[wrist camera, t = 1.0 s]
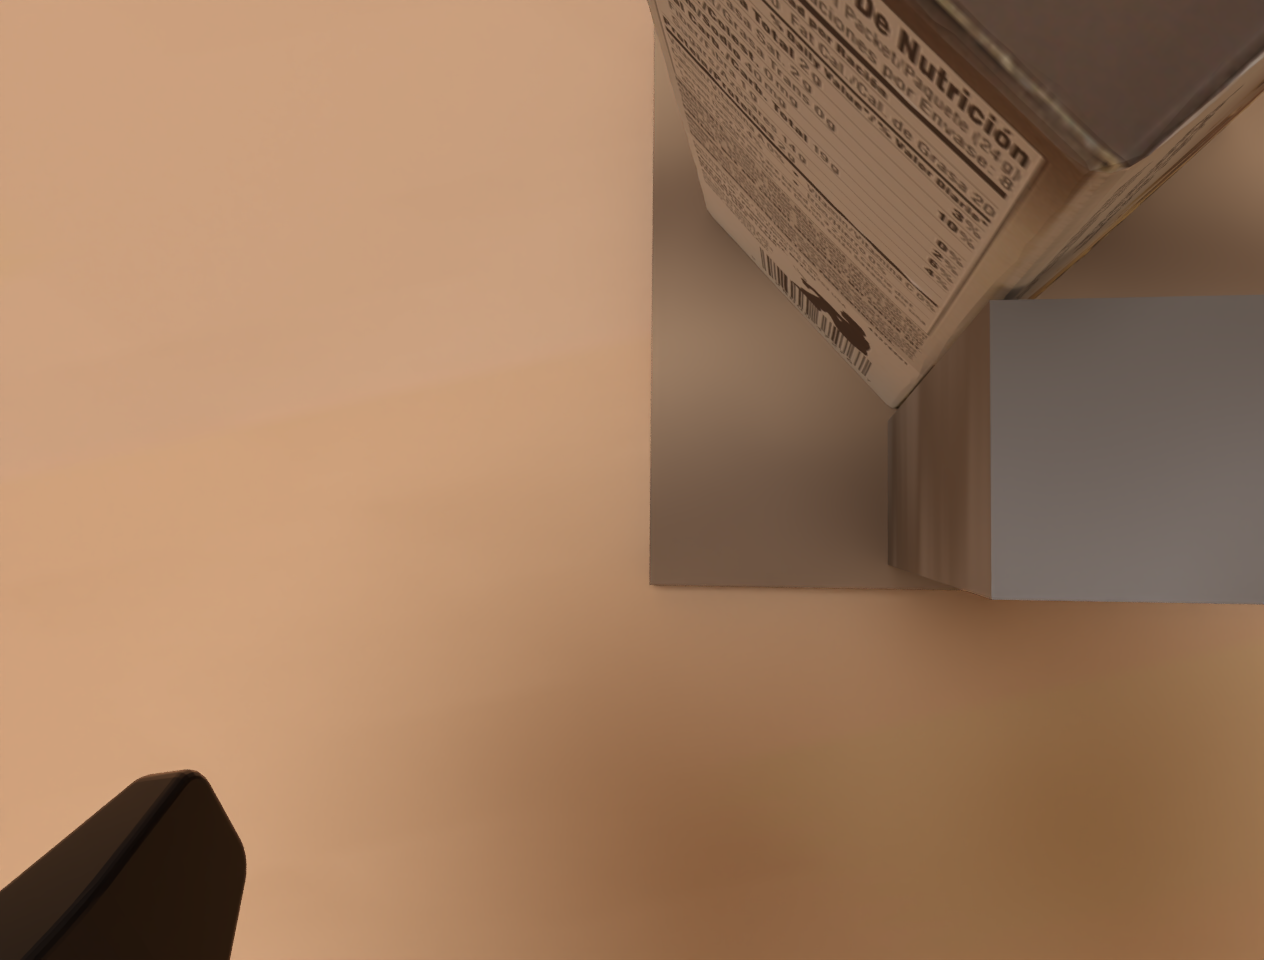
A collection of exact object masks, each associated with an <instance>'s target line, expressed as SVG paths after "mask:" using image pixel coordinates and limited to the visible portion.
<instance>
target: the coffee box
mask: <svg viewBox="0 0 1264 960" xmlns="http://www.w3.org/2000/svg"><path fill="white" fill-rule="evenodd" d="M647 1H648V5H649V8H650V12H651V15H652V19H653V22H654V26H655V29H656V32H657V36H658V39H659V42H660V45H661V49H662V52H663V55H664V59H665V62H666V66H667V70H668V74H669V78H670V81H671V84H672V88H673V91H674V95H675V98H676V102H677V105H678V108H679V111H680V115H681V118H682V121H683V125H684V128H685V131H686V134H687V137H688V141H689V145H690V149H691V153H692V156H693V159H694V162H695V165H696V168H697V173H698V177H699V181H700V184H701V188H702V191H703V195H704V199H705V203H706V207H707V210H708V211H709V213H710V214H711V215H712V217H713V218H714V219H715V220H716V221H717V222H718V223H719V225H720V226H721V227H722V228H723V229H724V230H725V231H726V232H727V233H728V234H729V235H730V236H731V237H732V238H733V240H734V241H735V242H736V243H737V244H738V245H739V246H740V247H741V248H742V249H743V250H744V251H745V253H746V254H747V255H748V256H749V257H750V258H751V259H752V260H753V261H754V262H755V264H756V265H757V266H758V267H759V268H760V269H761V270H762V271H763V272H764V273H765V275H766V276H767V277H768V278H769V279H770V280H771V281H772V282H773V283H774V284H775V286H776V287H777V288H778V289H779V290H780V291H781V292H782V293H783V294H784V295H785V296H786V297H787V298H788V300H789V301H790V302H791V303H792V304H793V305H794V306H795V307H796V308H797V309H798V310H799V311H800V312H801V314H802V315H803V316H804V317H805V318H806V319H807V320H808V321H809V322H810V323H811V324H812V325H813V326H814V328H815V329H816V330H817V331H818V332H819V333H820V334H821V335H822V336H823V337H824V338H825V339H826V340H827V341H828V343H829V344H830V345H831V346H832V347H833V348H834V349H835V350H836V351H837V352H838V353H839V354H840V355H841V357H842V358H843V359H844V360H845V361H846V362H847V363H848V364H849V365H850V366H851V367H852V368H853V369H854V370H855V371H856V372H857V373H858V374H859V375H860V377H861V378H862V379H863V380H864V381H865V382H866V383H867V384H868V385H869V386H870V387H871V388H872V389H873V390H874V392H875V393H876V394H877V395H878V396H879V397H880V398H881V399H882V400H883V401H884V402H885V403H886V404H887V405H888V406H890V407H891V408H893V409H898V408H899V407H900V406H901V405H902V404H903V402H904V401H905V400H906V399H907V398H908V397H909V395H910V394H911V393H912V392H913V391H914V389H915V388H916V387H917V386H918V385H919V384H920V382H921V381H922V380H923V379H924V378H925V376H926V375H927V374H928V373H929V372H930V371H931V369H932V368H933V367H934V366H935V365H936V363H937V362H938V361H939V360H940V359H941V357H942V356H943V355H944V354H945V353H946V352H947V350H948V349H949V348H950V347H951V346H952V344H953V343H954V342H955V341H956V340H957V339H958V337H959V336H960V335H961V334H962V333H963V331H964V330H965V329H966V328H967V327H968V326H969V324H970V323H971V322H972V321H973V320H974V318H975V317H976V316H977V315H978V314H979V312H980V311H981V310H982V309H983V308H984V307H985V305H986V304H987V303H988V302H989V301H990V300H1029V299H1035V298H1037V297H1038V296H1039V295H1040V294H1041V293H1042V292H1044V291H1045V290H1046V289H1047V288H1048V287H1049V286H1050V285H1052V284H1053V283H1054V282H1055V281H1056V280H1057V279H1058V278H1059V277H1061V276H1062V275H1063V274H1064V273H1065V272H1066V271H1067V270H1068V269H1070V268H1071V267H1072V266H1073V265H1074V264H1075V263H1076V262H1078V261H1079V260H1080V259H1082V258H1083V257H1084V256H1085V255H1086V254H1087V253H1088V252H1089V251H1090V250H1091V249H1092V248H1093V247H1094V246H1095V245H1096V244H1098V243H1099V242H1100V241H1101V240H1102V239H1103V238H1104V237H1106V236H1107V235H1108V234H1109V233H1110V232H1111V231H1112V230H1113V229H1114V228H1115V227H1116V226H1117V225H1119V224H1120V223H1121V222H1122V221H1123V220H1124V219H1125V218H1126V217H1127V216H1128V215H1129V214H1131V213H1132V212H1133V211H1134V210H1135V209H1136V208H1137V207H1138V206H1139V205H1141V204H1142V203H1143V202H1144V201H1145V200H1146V199H1147V198H1148V197H1150V196H1151V195H1152V194H1153V193H1154V192H1155V191H1156V190H1157V189H1158V188H1159V187H1161V186H1162V185H1163V184H1164V183H1165V182H1166V181H1167V180H1168V179H1170V178H1171V177H1172V176H1173V175H1174V174H1175V173H1176V172H1177V171H1178V170H1179V169H1180V168H1181V167H1182V166H1184V165H1185V164H1186V163H1187V162H1188V161H1189V160H1190V159H1191V158H1192V157H1194V156H1195V155H1196V154H1197V153H1198V152H1199V151H1200V150H1201V149H1202V148H1203V147H1205V146H1206V145H1207V144H1208V143H1209V142H1210V141H1211V140H1212V139H1213V138H1214V137H1215V136H1216V135H1217V134H1219V133H1220V132H1221V131H1222V130H1223V129H1224V128H1225V127H1226V126H1227V125H1228V124H1229V123H1230V122H1231V121H1232V120H1234V119H1235V118H1236V117H1237V116H1238V115H1239V114H1240V113H1242V112H1243V111H1244V110H1245V109H1246V108H1247V107H1248V106H1249V105H1250V104H1251V103H1252V102H1253V101H1254V100H1256V99H1257V98H1258V97H1259V96H1260V95H1261V94H1262V93H1263V92H1264V0H647Z"/></svg>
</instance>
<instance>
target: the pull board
mask: <svg viewBox="0 0 1264 960" xmlns="http://www.w3.org/2000/svg"><path fill="white" fill-rule="evenodd" d="M650 585H691V586H750V587H809V588H869V589H928V590H965V591H968V592H971V593H974V594H977V595H980V596H983V597H986V598H989V599H993V600H1048V601H1103V602H1159V603H1214V604H1264V92H1263V93H1262V94H1261V95H1260V96H1259V97H1258V98H1257V99H1256V100H1254V101H1253V102H1252V103H1251V104H1250V105H1249V106H1248V107H1247V108H1246V109H1245V110H1244V111H1243V112H1242V113H1240V114H1239V115H1238V116H1237V117H1236V118H1235V119H1234V120H1232V121H1231V122H1230V123H1229V124H1228V125H1227V126H1226V127H1225V128H1224V129H1223V130H1222V131H1221V132H1220V133H1219V134H1217V135H1216V136H1215V137H1214V138H1213V139H1212V140H1211V141H1210V142H1209V143H1208V144H1207V145H1206V146H1205V147H1203V148H1202V149H1201V150H1200V151H1199V152H1198V153H1197V154H1196V155H1195V156H1194V157H1192V158H1191V159H1190V160H1189V161H1188V162H1187V163H1186V164H1185V165H1184V166H1182V167H1181V168H1180V169H1179V170H1178V171H1177V172H1176V173H1175V174H1174V175H1173V176H1172V177H1171V178H1170V179H1168V180H1167V181H1166V182H1165V183H1164V184H1163V185H1162V186H1161V187H1159V188H1158V189H1157V190H1156V191H1155V192H1154V193H1153V194H1152V195H1151V196H1150V197H1148V198H1147V199H1146V200H1145V201H1144V202H1143V203H1142V204H1141V205H1139V206H1138V207H1137V208H1136V209H1135V210H1134V211H1133V212H1132V213H1131V214H1129V215H1128V216H1127V217H1126V218H1125V219H1124V220H1123V221H1122V222H1121V223H1120V224H1119V225H1117V226H1116V227H1115V228H1114V229H1113V230H1112V231H1111V232H1110V233H1109V234H1108V235H1107V236H1106V237H1104V238H1103V239H1102V240H1101V241H1100V242H1099V243H1098V244H1096V245H1095V246H1094V247H1093V248H1092V249H1091V250H1090V251H1089V252H1088V253H1087V254H1086V255H1085V256H1084V257H1083V258H1082V259H1080V260H1079V261H1078V262H1076V263H1075V264H1074V265H1073V266H1072V267H1071V268H1070V269H1068V270H1067V271H1066V272H1065V273H1064V274H1063V275H1062V276H1061V277H1059V278H1058V279H1057V280H1056V281H1055V282H1054V283H1053V284H1052V285H1050V286H1049V287H1048V288H1047V289H1046V290H1045V291H1044V292H1042V293H1041V294H1040V295H1039V296H1038V297H1037V298H1035V299H1029V300H990V301H989V302H988V303H987V304H986V305H985V307H984V308H983V309H982V310H981V311H980V312H979V314H978V315H977V316H976V317H975V318H974V320H973V321H972V322H971V323H970V324H969V326H968V327H967V328H966V329H965V330H964V331H963V333H962V334H961V335H960V336H959V337H958V339H957V340H956V341H955V342H954V343H953V344H952V346H951V347H950V348H949V349H948V350H947V352H946V353H945V354H944V355H943V356H942V357H941V359H940V360H939V361H938V362H937V363H936V365H935V366H934V367H933V368H932V369H931V371H930V372H929V373H928V374H927V375H926V376H925V378H924V379H923V380H922V381H921V382H920V384H919V385H918V386H917V387H916V388H915V389H914V391H913V392H912V393H911V394H910V395H909V397H908V398H907V399H906V400H905V401H904V402H903V404H902V405H901V406H900V407H899V408H898V409H893V408H891V407H890V406H888V405H887V404H886V403H885V402H884V401H883V400H882V399H881V398H880V397H879V396H878V395H877V394H876V393H875V392H874V390H873V389H872V388H871V387H870V386H869V385H868V384H867V383H866V382H865V381H864V380H863V379H862V378H861V377H860V375H859V374H858V373H857V372H856V371H855V370H854V369H853V368H852V367H851V366H850V365H849V364H848V363H847V362H846V361H845V360H844V359H843V358H842V357H841V355H840V354H839V353H838V352H837V351H836V350H835V349H834V348H833V347H832V346H831V345H830V344H829V343H828V341H827V340H826V339H825V338H824V337H823V336H822V335H821V334H820V333H819V332H818V331H817V330H816V329H815V328H814V326H813V325H812V324H811V323H810V322H809V321H808V320H807V319H806V318H805V317H804V316H803V315H802V314H801V312H800V311H799V310H798V309H797V308H796V307H795V306H794V305H793V304H792V303H791V302H790V301H789V300H788V298H787V297H786V296H785V295H784V294H783V293H782V292H781V291H780V290H779V289H778V288H777V287H776V286H775V284H774V283H773V282H772V281H771V280H770V279H769V278H768V277H767V276H766V275H765V273H764V272H763V271H762V270H761V269H760V268H759V267H758V266H757V265H756V264H755V262H754V261H753V260H752V259H751V258H750V257H749V256H748V255H747V254H746V253H745V251H744V250H743V249H742V248H741V247H740V246H739V245H738V244H737V243H736V242H735V241H734V240H733V238H732V237H731V236H730V235H729V234H728V233H727V232H726V231H725V230H724V229H723V228H722V227H721V226H720V225H719V223H718V222H717V221H716V220H715V219H714V218H713V217H712V215H711V214H710V213H709V211H708V210H707V207H706V203H705V199H704V195H703V191H702V188H701V184H700V181H699V177H698V173H697V168H696V165H695V162H694V159H693V156H692V153H691V149H690V145H689V141H688V137H687V134H686V131H685V128H684V125H683V121H682V118H681V115H680V111H679V108H678V105H677V102H676V98H675V95H674V91H673V88H672V84H671V81H670V78H669V74H668V70H667V66H666V62H665V59H664V55H663V52H662V49H661V45H660V42H659V39H658V36H657V32H656V29H655V30H654V142H653V254H652V366H651V478H650Z"/></svg>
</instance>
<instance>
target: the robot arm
mask: <svg viewBox="0 0 1264 960" xmlns="http://www.w3.org/2000/svg"><path fill="white" fill-rule="evenodd" d="M245 879H246V855H245V851H244V847H243V844H242V842H241V840H240V838H239V836H238V834H237V832H236V831H235V829H234V827H233V825H232V823H231V821H230V820H229V818H228V816H227V814H226V812H225V811H224V809H223V807H222V805H221V803H220V801H219V800H218V798H217V796H216V794H215V792H214V791H213V789H212V787H211V785H210V783H209V782H208V780H207V779H206V778H205V777H204V776H203V775H202V774H200V773H199V772H197V771H194V770H179V771H172V772H164V773H157V774H150V775H147V776H143V777H141V778H139V779H137V780H136V781H134V782H133V783H132V784H130V785H129V786H128V787H127V788H126V789H124V790H123V791H122V792H121V793H119V794H118V795H117V796H116V797H115V798H113V799H112V800H111V801H110V802H108V803H107V804H106V805H105V806H104V807H102V808H101V809H100V810H99V811H97V812H96V813H95V814H94V815H93V816H91V817H90V818H89V819H88V820H86V821H85V822H84V823H83V824H82V825H80V826H79V827H78V828H77V829H75V830H74V831H73V832H72V833H71V834H69V835H68V836H67V837H66V838H64V839H63V840H62V841H61V842H60V843H58V844H57V845H56V846H55V847H53V848H52V849H51V850H50V851H49V852H47V853H46V854H45V855H44V856H42V857H41V858H40V859H39V860H38V861H36V862H35V863H34V864H33V865H31V866H30V867H29V868H28V869H27V870H25V871H24V872H23V873H22V874H21V875H19V876H18V877H17V878H16V879H14V880H13V881H12V882H11V883H10V884H8V885H7V886H6V887H5V888H3V889H2V890H1V891H0V960H230V956H231V951H232V946H233V941H234V936H235V931H236V925H237V920H238V915H239V910H240V905H241V900H242V895H243V890H244V885H245Z"/></svg>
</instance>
